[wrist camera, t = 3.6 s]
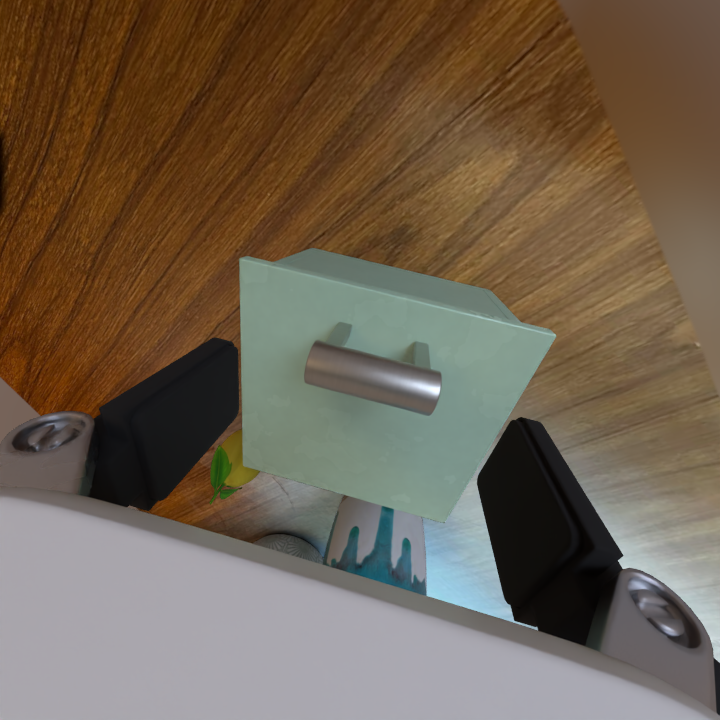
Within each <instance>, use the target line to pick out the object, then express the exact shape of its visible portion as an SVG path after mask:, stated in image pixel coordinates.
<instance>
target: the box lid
mask: <svg viewBox="0 0 720 720" xmlns="http://www.w3.org/2000/svg"><path fill="white" fill-rule="evenodd" d="M239 272H240V329H241V386H242V444H243V466H244V467H248V468H251V469H255V470H258V471H262V472H265V473H269V474H272V475H276V476H279V477H283V478H286V479H290V480H293V481H297V482H301V483H304V484H308V485H311V486H315V487H318V488H322V489H325V490H329V491H332V492H336V493H339V494H343V495H346V496H350V497H353V498H357V499H360V500H364V501H367V502H371V503H374V504H378V505H381V506H385V507H388V508H392V509H395V510H399V511H402V512H406V513H409V514H413V515H416V516H420V517H423V518H427V519H430V520H434V521H437V522H441V523H445V521H446V520H447V518H448V516H449V515H450V513H451V511H452V510H453V508H454V506H455V505H456V503H457V501H458V500H459V498H460V496H461V495H462V493H463V491H464V490H465V488H466V486H467V485H468V483H469V481H470V480H471V478H472V476H473V475H474V473H475V471H476V470H477V468H478V466H479V465H480V463H481V461H482V460H483V458H484V456H485V455H486V453H487V451H488V450H489V448H490V446H491V445H492V443H493V441H494V440H495V438H496V436H497V435H498V433H499V431H500V430H501V428H502V426H503V425H504V423H505V421H506V420H507V418H508V416H509V415H510V413H511V411H512V410H513V408H514V406H515V405H516V403H517V401H518V400H519V398H520V396H521V395H522V393H523V391H524V389H525V388H526V386H527V384H528V383H529V381H530V379H531V378H532V376H533V374H534V373H535V371H536V369H537V368H538V366H539V364H540V363H541V361H542V359H543V358H544V356H545V354H546V353H547V351H548V349H549V348H550V346H551V344H552V343H553V341H554V339H555V338H556V335H555V334H554V333H553V332H552V331H551V330H550V329H546V328H542V327H538V326H534V325H529V324H525V323H521V322H517V321H513V320H509V319H505V318H501V317H496V316H492V315H488V314H484V313H480V312H476V311H472V310H468V309H463V308H459V307H455V306H451V305H447V304H443V303H439V302H435V301H431V300H426V299H422V298H418V297H414V296H410V295H406V294H402V293H398V292H393V291H389V290H385V289H381V288H377V287H373V286H369V285H365V284H361V283H356V282H352V281H348V280H344V279H340V278H336V277H332V276H328V275H323V274H319V273H315V272H311V271H307V270H303V269H299V268H295V267H291V266H286V265H282V264H278V263H274V262H270V261H266V260H262V259H258V258H253V257H249V256H246V257H242V258H240V259H239Z"/></svg>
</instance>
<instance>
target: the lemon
mask: <svg viewBox="0 0 720 720" xmlns="http://www.w3.org/2000/svg"><path fill="white" fill-rule="evenodd" d="M259 472H260V471H258V470H255V469H251V468H248V467H244V466H243V444H242V429H241V430H238V431H236V432H235V433H233V434H232V435H230V436H229V437H228V438H227V439H226V440H225V441H224V442H223V444H222V445H221V446H220V445H219V446H218V448H217V450H216V452H215V454H214V457H213V460H212V465H211V474H210V476H211V485H212V486H213V487H214V489H215V492H214V496H213V498H212V499H211V501H210V504H212V502H213V501H214V499H215V497H216V496H217V494H218V493H219V491H220V498H221V499H225V498H227V497H228V496H230V495H231V494H233V493H234V492H235V491H237V490H238V489H242V487H241V488H238V489H225V490H221V489H222V487H223V486H227V487H239V486H241V485H244V484H246V483H248V482H250V481H251V480H253V479H254V478H255V477H256V476H257V475H258V474H259ZM221 484H222V485H221ZM220 485H221V486H220ZM219 486H220V488H219V489H218V490H217V488H218V487H219ZM216 490H217V492H216Z"/></svg>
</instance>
